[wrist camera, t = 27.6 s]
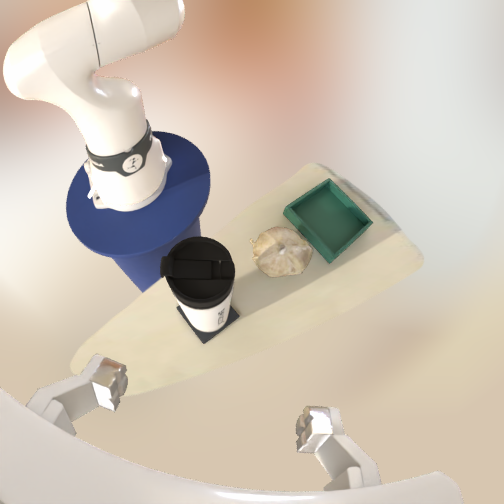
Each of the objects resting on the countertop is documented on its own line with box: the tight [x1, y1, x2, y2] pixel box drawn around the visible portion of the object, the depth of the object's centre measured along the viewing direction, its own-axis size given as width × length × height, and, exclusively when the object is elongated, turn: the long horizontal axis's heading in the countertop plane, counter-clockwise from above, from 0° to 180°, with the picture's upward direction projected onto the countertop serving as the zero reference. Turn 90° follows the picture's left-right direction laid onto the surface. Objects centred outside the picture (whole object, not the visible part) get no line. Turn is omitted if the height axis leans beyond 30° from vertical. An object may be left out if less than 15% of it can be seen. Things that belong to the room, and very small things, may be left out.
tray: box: [283, 178, 373, 264], centre depth 50 cm, size 13×13×2 cm
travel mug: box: [160, 237, 235, 332], centre depth 32 cm, size 6×7×20 cm
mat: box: [176, 305, 239, 344], centre depth 41 cm, size 7×7×1 cm
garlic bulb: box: [250, 227, 313, 277], centre depth 42 cm, size 9×8×10 cm
